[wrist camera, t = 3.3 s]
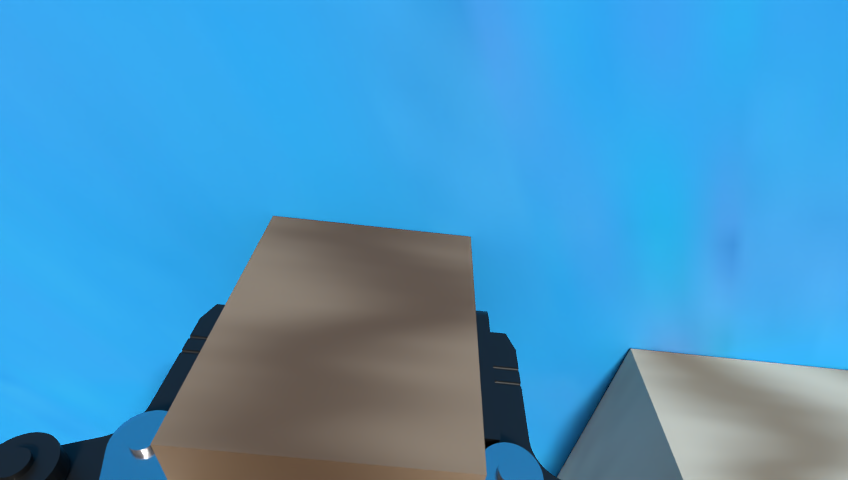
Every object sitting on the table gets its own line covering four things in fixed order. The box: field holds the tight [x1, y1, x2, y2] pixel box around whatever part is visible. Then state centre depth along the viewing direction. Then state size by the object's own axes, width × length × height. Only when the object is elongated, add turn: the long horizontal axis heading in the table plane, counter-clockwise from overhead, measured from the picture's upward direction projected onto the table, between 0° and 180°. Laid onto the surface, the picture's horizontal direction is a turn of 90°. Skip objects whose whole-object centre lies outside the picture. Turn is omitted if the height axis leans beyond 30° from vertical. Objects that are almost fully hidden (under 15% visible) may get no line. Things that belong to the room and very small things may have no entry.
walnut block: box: [150, 216, 487, 480], centre depth 11 cm, size 5×5×6 cm
